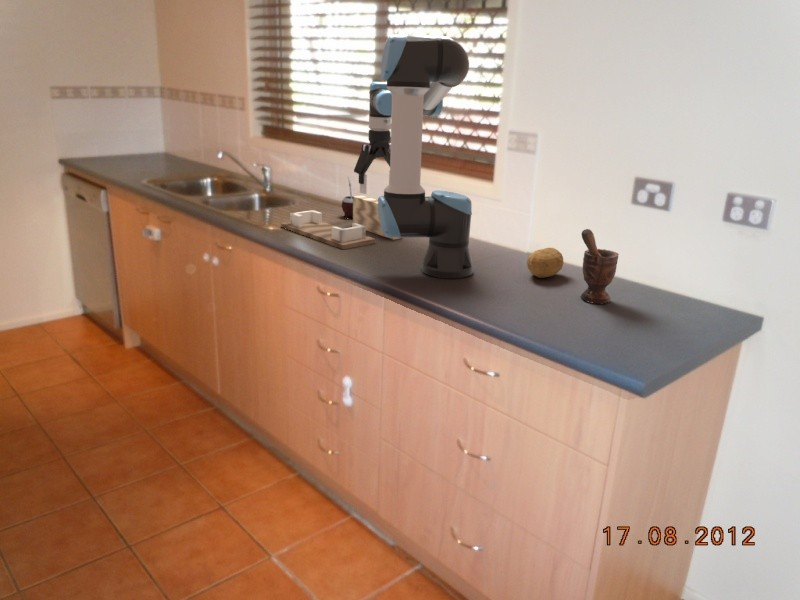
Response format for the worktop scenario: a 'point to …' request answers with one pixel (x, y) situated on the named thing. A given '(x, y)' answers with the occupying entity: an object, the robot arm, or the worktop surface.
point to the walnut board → (326, 234)
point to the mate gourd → (348, 204)
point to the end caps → (337, 233)
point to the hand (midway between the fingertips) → (377, 191)
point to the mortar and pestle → (597, 269)
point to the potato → (545, 262)
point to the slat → (367, 214)
